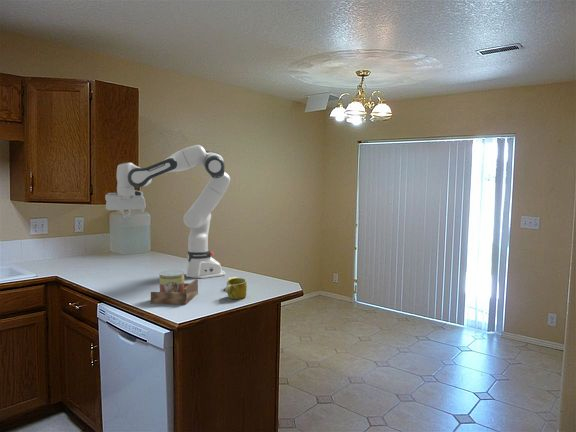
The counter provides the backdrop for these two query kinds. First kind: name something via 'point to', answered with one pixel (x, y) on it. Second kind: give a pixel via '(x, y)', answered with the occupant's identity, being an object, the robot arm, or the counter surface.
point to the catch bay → (176, 295)
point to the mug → (236, 288)
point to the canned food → (172, 281)
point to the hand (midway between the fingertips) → (126, 218)
